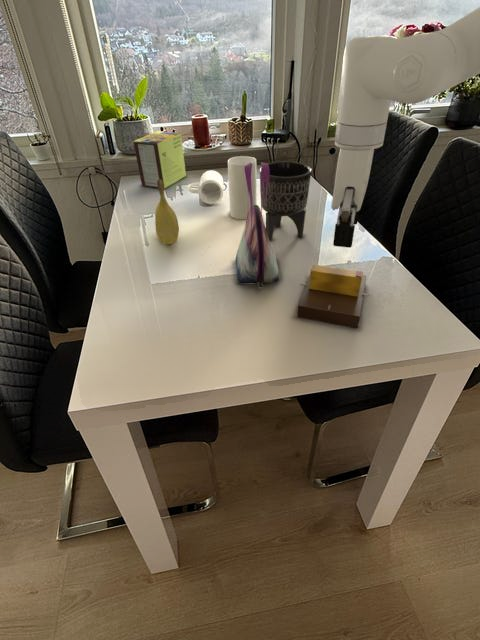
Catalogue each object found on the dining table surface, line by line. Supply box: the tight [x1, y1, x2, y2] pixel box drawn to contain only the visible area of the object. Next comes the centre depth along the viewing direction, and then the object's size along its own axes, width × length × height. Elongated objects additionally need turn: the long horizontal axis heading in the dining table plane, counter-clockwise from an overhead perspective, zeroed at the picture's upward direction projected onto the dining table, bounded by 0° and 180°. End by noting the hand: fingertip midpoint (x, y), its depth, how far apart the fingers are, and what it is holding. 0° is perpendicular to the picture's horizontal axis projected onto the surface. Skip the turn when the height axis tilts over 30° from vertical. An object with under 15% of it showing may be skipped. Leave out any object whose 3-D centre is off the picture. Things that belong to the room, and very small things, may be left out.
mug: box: [186, 169, 224, 206], centre depth 124 cm, size 12×10×8 cm
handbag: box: [235, 161, 281, 291], centre depth 82 cm, size 21×10×25 cm, turn 3°
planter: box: [259, 160, 312, 241], centre depth 99 cm, size 13×13×18 cm
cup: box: [227, 155, 258, 220], centre depth 111 cm, size 8×8×16 cm
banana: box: [154, 179, 180, 245], centre depth 97 cm, size 23×6×20 cm, turn 15°
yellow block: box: [309, 264, 364, 297], centre depth 76 cm, size 10×2×5 cm, turn 71°
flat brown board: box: [296, 268, 370, 329], centre depth 79 cm, size 15×14×3 cm
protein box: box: [132, 130, 187, 189], centre depth 137 cm, size 10×15×16 cm
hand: (345, 234), depth 70 cm, fingers open, 9 cm apart
